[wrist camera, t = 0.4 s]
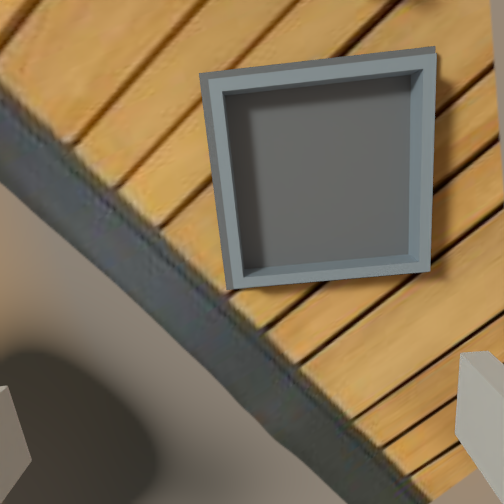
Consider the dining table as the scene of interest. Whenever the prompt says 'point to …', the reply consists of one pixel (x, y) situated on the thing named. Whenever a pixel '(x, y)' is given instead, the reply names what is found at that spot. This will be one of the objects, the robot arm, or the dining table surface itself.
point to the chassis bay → (323, 167)
